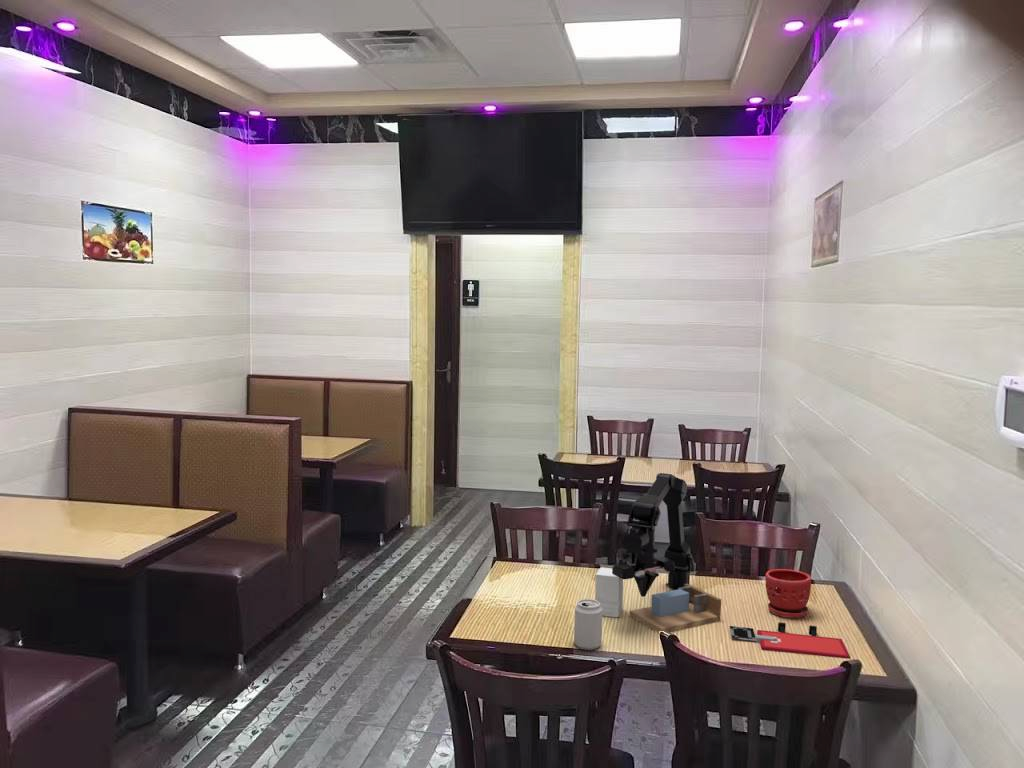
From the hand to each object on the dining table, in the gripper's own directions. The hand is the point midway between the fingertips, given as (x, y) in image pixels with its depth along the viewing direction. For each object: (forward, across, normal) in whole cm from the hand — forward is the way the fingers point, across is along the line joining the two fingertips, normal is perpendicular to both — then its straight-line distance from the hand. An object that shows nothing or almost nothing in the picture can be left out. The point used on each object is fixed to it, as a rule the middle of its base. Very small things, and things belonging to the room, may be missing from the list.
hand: (642, 596), depth 226 cm
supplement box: (+8, +4, -11) cm, 14 cm away
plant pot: (+8, -45, +13) cm, 47 cm away
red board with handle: (+9, -28, +28) cm, 41 cm away
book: (+6, -10, 0) cm, 12 cm away
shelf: (+8, -11, +2) cm, 14 cm away
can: (+8, +23, +6) cm, 25 cm away
